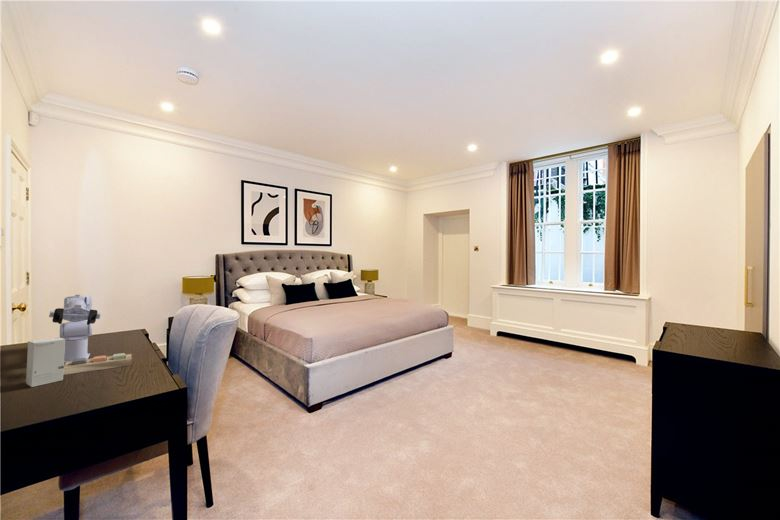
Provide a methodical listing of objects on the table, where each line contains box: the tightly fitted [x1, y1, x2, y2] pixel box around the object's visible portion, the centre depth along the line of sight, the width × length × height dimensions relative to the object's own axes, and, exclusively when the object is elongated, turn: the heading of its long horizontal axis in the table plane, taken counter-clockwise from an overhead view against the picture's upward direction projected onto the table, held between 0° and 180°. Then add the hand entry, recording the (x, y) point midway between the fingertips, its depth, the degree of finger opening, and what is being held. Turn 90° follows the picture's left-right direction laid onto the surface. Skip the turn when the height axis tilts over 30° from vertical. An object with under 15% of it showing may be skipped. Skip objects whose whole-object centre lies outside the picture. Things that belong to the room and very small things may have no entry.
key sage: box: [112, 352, 126, 360], centre depth 135 cm, size 4×4×2 cm
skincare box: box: [25, 336, 65, 388], centre depth 115 cm, size 8×6×15 cm
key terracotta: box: [93, 355, 107, 363], centre depth 131 cm, size 4×4×2 cm
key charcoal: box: [72, 358, 86, 365], centre depth 127 cm, size 4×4×2 cm
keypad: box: [63, 353, 132, 376], centre depth 131 cm, size 9×20×2 cm, turn 128°
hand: (75, 321), depth 124 cm, fingers open, 7 cm apart
